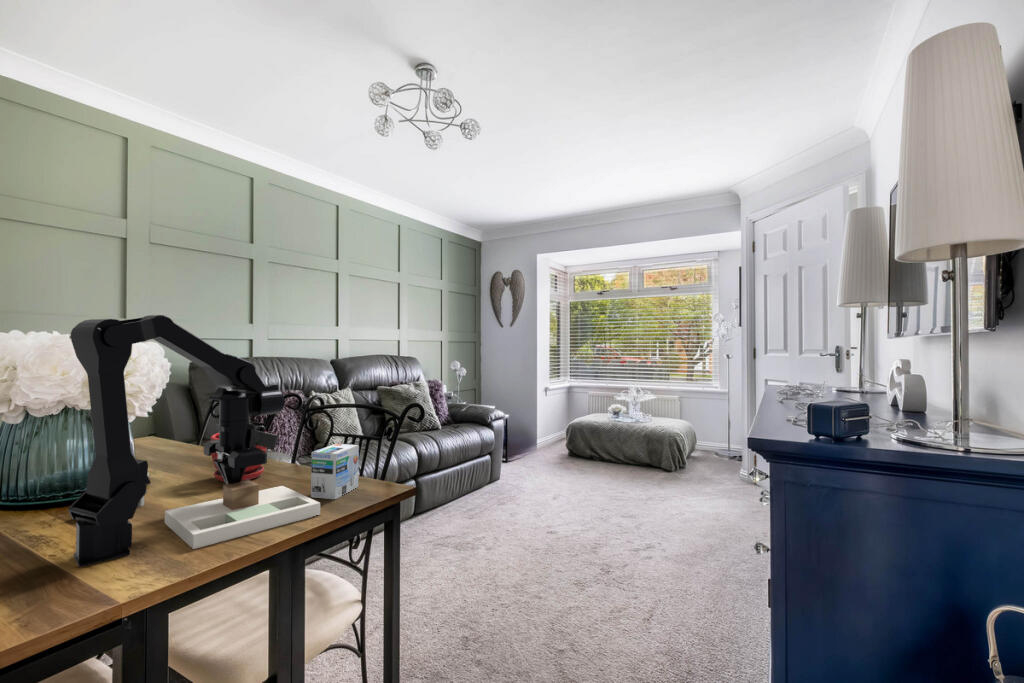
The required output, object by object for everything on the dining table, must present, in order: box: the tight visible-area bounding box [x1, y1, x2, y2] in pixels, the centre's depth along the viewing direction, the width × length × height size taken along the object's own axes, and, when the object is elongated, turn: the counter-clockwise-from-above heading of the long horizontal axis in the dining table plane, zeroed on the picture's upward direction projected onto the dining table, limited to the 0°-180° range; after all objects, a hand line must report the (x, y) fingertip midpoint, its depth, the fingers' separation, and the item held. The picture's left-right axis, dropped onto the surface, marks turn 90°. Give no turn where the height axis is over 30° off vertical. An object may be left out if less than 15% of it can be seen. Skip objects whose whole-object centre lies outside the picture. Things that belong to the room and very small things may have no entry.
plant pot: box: [210, 432, 267, 483], centre depth 127 cm, size 13×13×12 cm
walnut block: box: [222, 479, 260, 510], centre depth 99 cm, size 5×5×4 cm
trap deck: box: [164, 485, 321, 550], centre depth 98 cm, size 23×18×2 cm
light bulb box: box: [310, 443, 360, 500], centre depth 116 cm, size 11×7×11 cm, turn 168°
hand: (233, 492), depth 102 cm, fingers closed
